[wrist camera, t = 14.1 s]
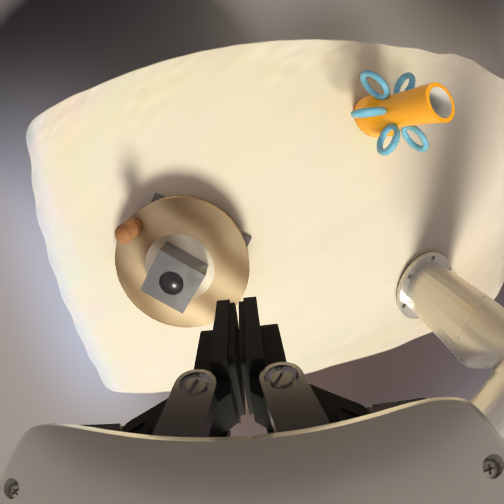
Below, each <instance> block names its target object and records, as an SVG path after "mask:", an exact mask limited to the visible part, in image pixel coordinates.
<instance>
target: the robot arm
mask: <svg viewBox="0 0 504 504" xmlns="http://www.w3.org/2000/svg"><path fill="white" fill-rule="evenodd" d="M243 300H244V301H241V302H239V325H238V319H237V312H236V305H235V302H232V303H230V299H228V300H218V301H217V303H216V311H215V319H214V326H213V330H210V331H201V334H200V339H199V344H198V350H197V355H196V361H195V366H194V370H190V371H187V372H185V373H183V374H181V375H180V376H179V377H178V378H177V380H176V381H175V383H174V386H173V388H172V390H171V393H170V395H169V397H168V398H167V399H166V400H164V401H163V402H161V403H159V404H158V405H156V406H154V407H153V408H151V409H149V410H148V411H146V412H145V413H143V414H141V415H139V416H138V417H136V418H134V419H132V420H131V421H129V422H128V423H127V424H126V425H125V426H122V425H121V424H99V425H72V424H56V423H52V424H43V425H38V426H35V427H32V428H31V429H29V430H28V431H27V432H25V434H24V435H23V436H22V437H21V438H20V440H19V441H18V443H17V444H16V446H15V448H14V450H13V451H12V453H11V455H10V457H9V459H8V461H7V464H6V465H5V467H4V470H3V472H2V474H1V477H0V504H504V308H503V307H502V306H501V305H499V304H498V303H497V302H495V301H494V300H493V299H491V298H490V297H488V296H487V295H486V294H484V293H483V292H481V291H480V290H479V289H477V288H476V287H474V286H473V285H471V284H470V283H468V282H467V281H465V280H464V279H462V278H461V277H459V276H458V275H456V274H455V273H453V272H452V271H451V266H450V263H449V261H448V260H447V258H446V257H445V256H443V255H442V254H440V253H437V252H428V253H425V254H422V255H421V256H419V257H418V258H416V259H415V260H414V261H413V262H412V263H411V264H410V265H409V266H408V267H407V269H406V270H405V272H404V273H403V275H402V277H401V279H400V282H399V285H398V289H397V305H398V307H399V310H400V311H401V312H402V313H403V314H404V315H405V316H406V317H408V318H411V319H419V318H420V319H421V320H422V321H423V322H424V323H425V324H426V325H427V326H428V327H429V328H430V329H431V330H432V331H433V332H434V333H435V334H436V335H437V336H438V337H439V338H440V340H442V342H443V343H444V344H445V345H446V346H447V347H448V348H449V349H450V350H451V351H452V352H453V354H454V355H456V357H457V358H458V359H459V360H460V361H461V362H462V363H463V364H464V365H465V366H467V367H470V368H473V369H482V368H489V367H493V371H492V373H491V375H490V376H489V378H488V379H487V381H486V382H485V384H484V385H483V387H482V388H481V389H480V390H479V392H478V393H477V394H476V395H475V397H474V398H473V399H472V400H471V401H470V402H469V401H468V400H465V399H462V398H457V397H439V398H431V399H426V398H416V399H410V400H403V401H396V402H388V403H379V404H372V406H371V407H366V408H365V407H364V406H362V405H361V404H359V403H356V402H354V401H351V400H348V399H346V398H343V397H340V396H338V395H335V394H333V393H330V392H328V391H325V390H323V389H320V388H318V387H316V386H314V385H311V384H309V382H308V381H307V379H306V377H305V375H304V373H303V371H302V370H301V369H300V367H298V366H297V365H295V364H292V363H289V362H286V358H285V353H284V349H283V345H282V340H281V336H280V332H279V328H278V324H271V325H263V326H260V323H259V316H258V308H257V301H256V297H248V298H243ZM244 387H245V392H246V398H247V403H248V408H249V414H254V417H255V421H256V422H257V423H259V424H260V425H262V426H264V427H265V428H266V433H267V434H261V435H249V436H233V437H231V428H232V427H233V426H234V425H236V424H237V423H241V422H240V415H245V393H244Z"/></svg>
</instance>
